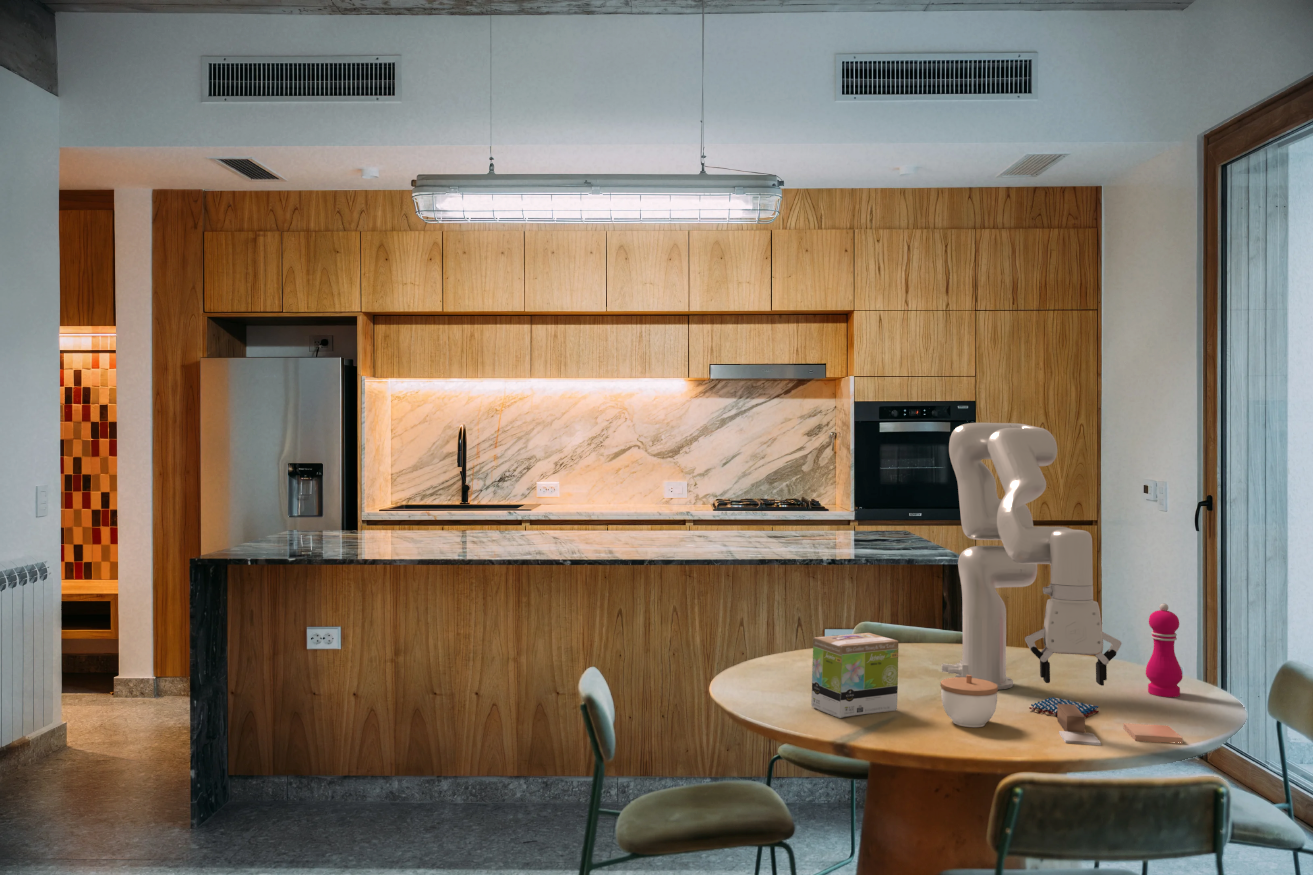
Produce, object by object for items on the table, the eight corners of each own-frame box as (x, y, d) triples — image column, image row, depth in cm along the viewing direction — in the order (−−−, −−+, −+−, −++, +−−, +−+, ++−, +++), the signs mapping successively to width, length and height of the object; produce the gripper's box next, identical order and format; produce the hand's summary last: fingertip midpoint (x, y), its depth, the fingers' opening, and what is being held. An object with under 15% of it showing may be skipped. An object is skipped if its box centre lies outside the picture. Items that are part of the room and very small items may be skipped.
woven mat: (1049, 704, 203) (1049, 695, 203) (1100, 715, 195) (1100, 705, 195) (1026, 713, 196) (1026, 703, 196) (1078, 724, 188) (1078, 714, 188)
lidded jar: (999, 733, 180) (999, 683, 180) (940, 728, 183) (941, 679, 183) (995, 717, 191) (995, 671, 191) (939, 713, 193) (940, 667, 194)
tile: (1123, 731, 184) (1135, 743, 176) (1123, 722, 184) (1135, 734, 176) (1168, 733, 182) (1182, 746, 174) (1168, 725, 182) (1182, 737, 174)
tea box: (841, 720, 188) (841, 645, 189) (810, 707, 197) (810, 636, 198) (899, 710, 195) (899, 638, 196) (867, 699, 204) (867, 630, 204)
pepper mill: (1187, 698, 206) (1187, 606, 207) (1151, 696, 208) (1151, 605, 208) (1176, 690, 213) (1176, 601, 214) (1141, 688, 215) (1141, 600, 215)
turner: (1065, 743, 174) (1065, 724, 174) (1050, 720, 189) (1049, 703, 189) (1100, 745, 173) (1100, 726, 173) (1082, 722, 188) (1082, 705, 188)
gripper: (1027, 594, 182) (1029, 684, 181) (1125, 597, 179) (1126, 689, 178) (1021, 590, 189) (1022, 676, 189) (1114, 592, 186) (1116, 680, 185)
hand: (1073, 682), depth 183 cm, fingers open, 9 cm apart
